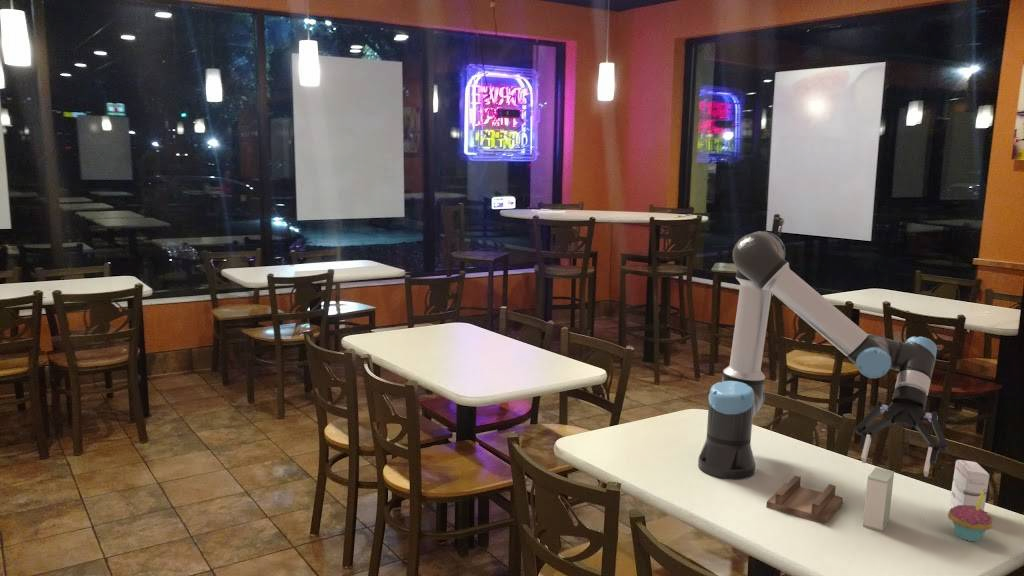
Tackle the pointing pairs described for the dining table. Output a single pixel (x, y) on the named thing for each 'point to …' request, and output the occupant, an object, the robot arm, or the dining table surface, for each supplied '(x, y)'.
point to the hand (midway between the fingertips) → (893, 467)
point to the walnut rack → (806, 501)
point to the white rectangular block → (968, 484)
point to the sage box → (878, 499)
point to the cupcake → (970, 520)
